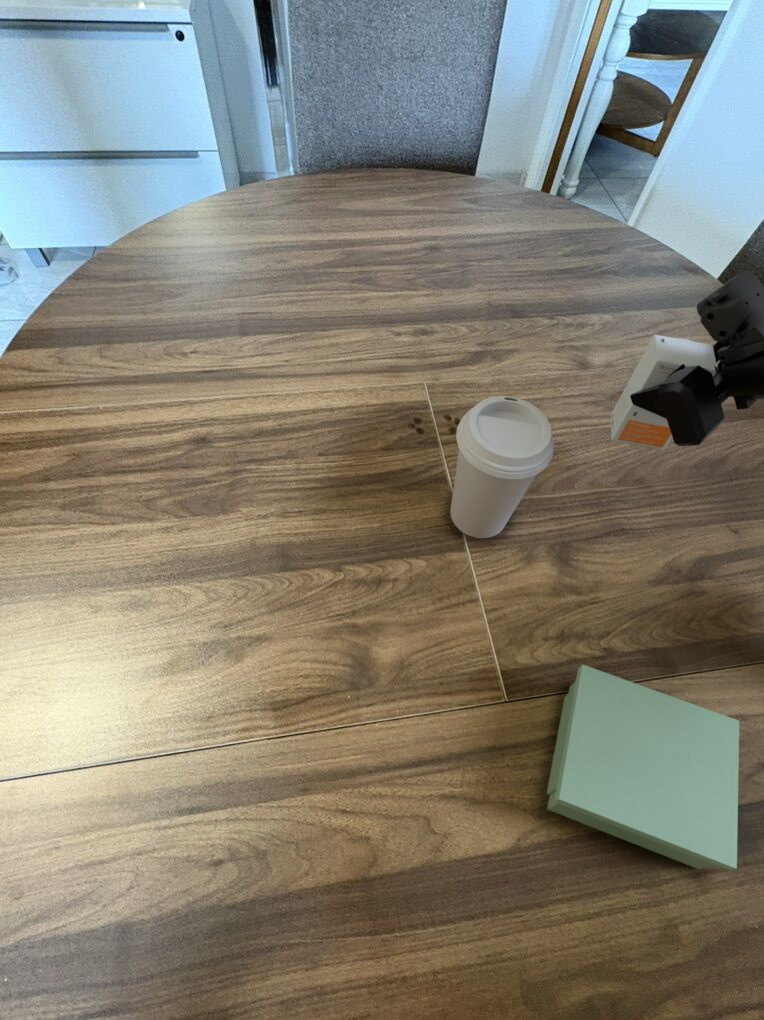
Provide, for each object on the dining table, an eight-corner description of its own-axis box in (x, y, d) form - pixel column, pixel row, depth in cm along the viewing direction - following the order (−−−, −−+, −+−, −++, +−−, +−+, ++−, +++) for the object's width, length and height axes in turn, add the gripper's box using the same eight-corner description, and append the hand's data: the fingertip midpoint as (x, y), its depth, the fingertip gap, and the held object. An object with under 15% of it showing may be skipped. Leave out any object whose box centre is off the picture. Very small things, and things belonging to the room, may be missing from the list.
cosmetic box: (610, 443, 69) (655, 359, 59) (609, 416, 71) (652, 332, 62) (664, 453, 68) (719, 371, 59) (662, 425, 71) (713, 342, 61)
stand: (710, 735, 58) (739, 720, 54) (704, 874, 51) (737, 869, 47) (564, 682, 60) (582, 664, 56) (540, 809, 53) (558, 799, 49)
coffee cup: (532, 504, 72) (574, 416, 59) (498, 564, 67) (537, 481, 54) (459, 469, 74) (485, 376, 62) (422, 524, 69) (442, 435, 57)
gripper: (841, 227, 53) (674, 279, 67) (736, 310, 45) (571, 350, 59) (866, 347, 57) (703, 373, 70) (773, 443, 49) (608, 453, 62)
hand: (650, 384), depth 65 cm, fingers closed on cosmetic box, 6 cm apart
